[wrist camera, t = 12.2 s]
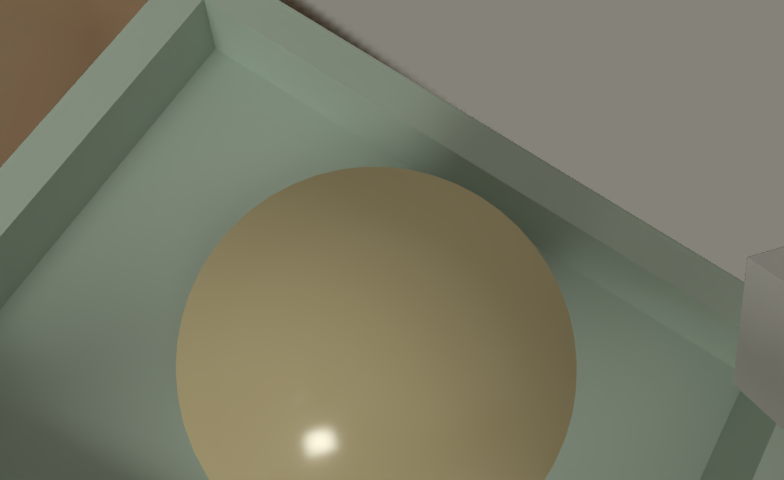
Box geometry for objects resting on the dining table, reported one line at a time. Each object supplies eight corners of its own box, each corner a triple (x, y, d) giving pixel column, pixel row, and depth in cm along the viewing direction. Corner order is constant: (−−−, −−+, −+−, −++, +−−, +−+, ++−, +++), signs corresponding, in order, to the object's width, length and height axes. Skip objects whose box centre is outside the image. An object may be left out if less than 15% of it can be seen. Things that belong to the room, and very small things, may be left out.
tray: (-161, 461, 17) (-261, 461, 14) (210, 19, 21) (194, -52, 18) (526, 941, 15) (574, 1050, 13) (778, 367, 20) (857, 350, 17)
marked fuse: (214, 444, 17) (80, 419, 7) (319, 289, 18) (322, 94, 9) (374, 550, 17) (453, 669, 7) (470, 385, 18) (647, 294, 8)
